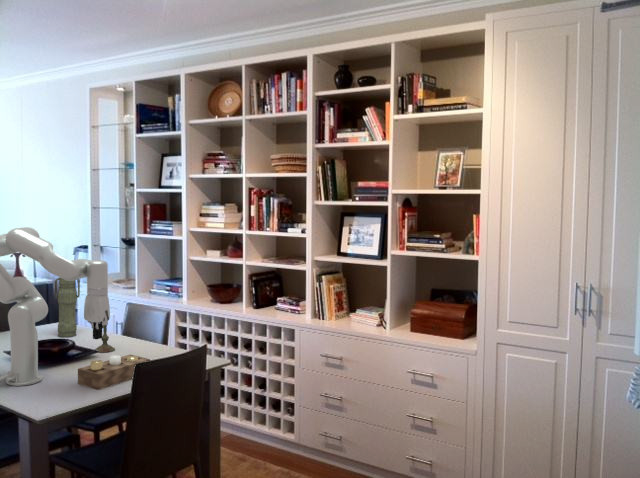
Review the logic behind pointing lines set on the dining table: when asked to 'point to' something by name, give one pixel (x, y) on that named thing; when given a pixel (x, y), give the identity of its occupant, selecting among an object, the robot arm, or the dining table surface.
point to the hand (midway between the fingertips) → (97, 338)
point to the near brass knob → (96, 365)
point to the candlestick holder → (105, 343)
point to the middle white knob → (115, 360)
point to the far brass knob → (132, 358)
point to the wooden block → (108, 373)
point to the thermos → (67, 307)
